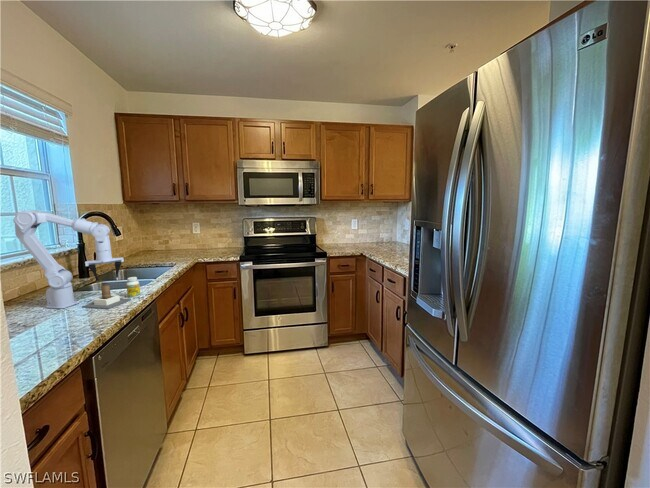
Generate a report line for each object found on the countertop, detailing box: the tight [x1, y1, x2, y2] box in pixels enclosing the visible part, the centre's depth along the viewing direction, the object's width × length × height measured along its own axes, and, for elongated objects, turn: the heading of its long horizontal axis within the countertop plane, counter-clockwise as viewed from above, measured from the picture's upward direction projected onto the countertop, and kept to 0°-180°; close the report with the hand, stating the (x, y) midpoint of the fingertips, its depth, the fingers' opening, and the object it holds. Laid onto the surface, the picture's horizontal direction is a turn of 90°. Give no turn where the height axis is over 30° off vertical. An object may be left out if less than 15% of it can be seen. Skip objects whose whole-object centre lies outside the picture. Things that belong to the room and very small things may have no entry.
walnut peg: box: [100, 284, 112, 299], centre depth 137 cm, size 3×3×8 cm
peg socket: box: [81, 294, 132, 310], centre depth 137 cm, size 14×12×3 cm
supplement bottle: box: [125, 276, 141, 299], centre depth 147 cm, size 5×5×10 cm
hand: (107, 278), depth 142 cm, fingers open, 7 cm apart
